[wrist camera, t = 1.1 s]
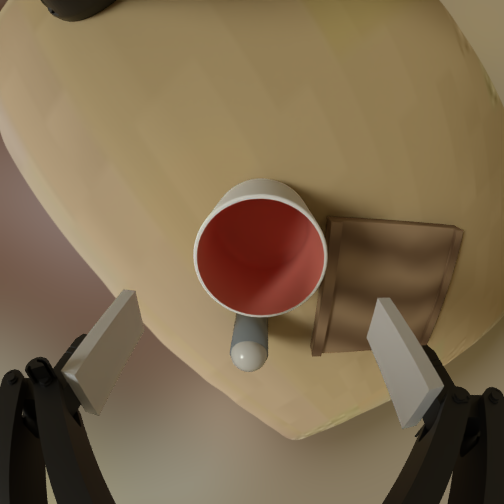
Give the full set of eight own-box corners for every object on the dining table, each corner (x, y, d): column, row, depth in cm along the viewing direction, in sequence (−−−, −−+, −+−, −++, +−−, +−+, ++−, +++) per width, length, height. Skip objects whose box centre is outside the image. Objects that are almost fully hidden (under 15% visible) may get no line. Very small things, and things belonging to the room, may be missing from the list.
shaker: (235, 302, 33) (226, 351, 25) (268, 303, 33) (268, 353, 25) (236, 328, 35) (228, 378, 27) (267, 328, 35) (267, 380, 26)
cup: (224, 270, 32) (209, 322, 22) (207, 184, 28) (179, 206, 19) (311, 260, 31) (329, 310, 21) (303, 171, 27) (323, 186, 18)
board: (327, 216, 29) (331, 222, 27) (454, 225, 28) (463, 230, 26) (310, 346, 36) (312, 356, 34) (420, 337, 35) (425, 346, 33)
